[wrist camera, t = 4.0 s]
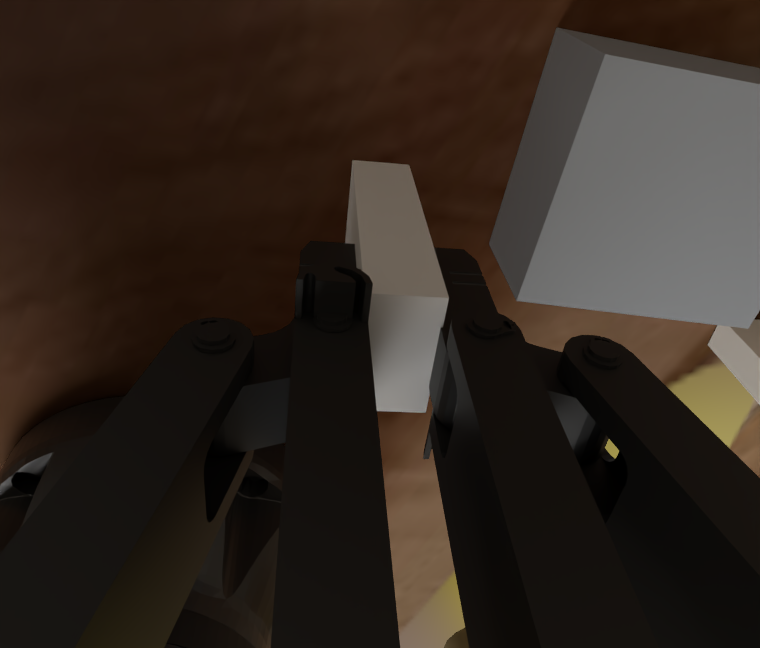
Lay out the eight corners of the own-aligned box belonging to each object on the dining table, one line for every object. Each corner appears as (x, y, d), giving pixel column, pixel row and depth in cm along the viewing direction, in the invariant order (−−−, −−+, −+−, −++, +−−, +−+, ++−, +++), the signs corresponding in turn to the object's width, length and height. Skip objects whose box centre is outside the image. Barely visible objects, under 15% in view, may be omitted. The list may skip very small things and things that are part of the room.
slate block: (487, 240, 25) (516, 300, 21) (554, 26, 21) (605, 53, 17) (688, 268, 27) (748, 328, 23) (790, 73, 22) (884, 108, 18)
